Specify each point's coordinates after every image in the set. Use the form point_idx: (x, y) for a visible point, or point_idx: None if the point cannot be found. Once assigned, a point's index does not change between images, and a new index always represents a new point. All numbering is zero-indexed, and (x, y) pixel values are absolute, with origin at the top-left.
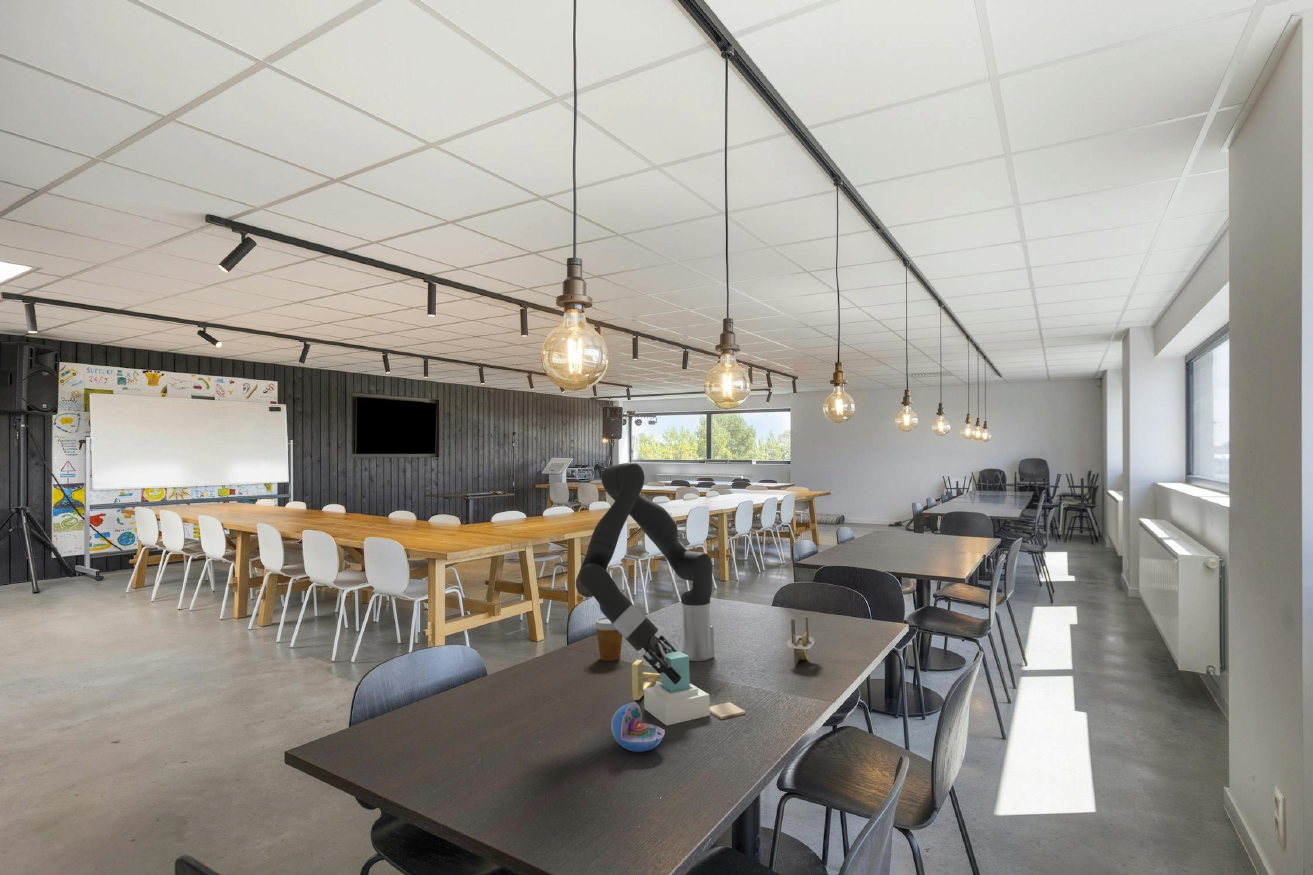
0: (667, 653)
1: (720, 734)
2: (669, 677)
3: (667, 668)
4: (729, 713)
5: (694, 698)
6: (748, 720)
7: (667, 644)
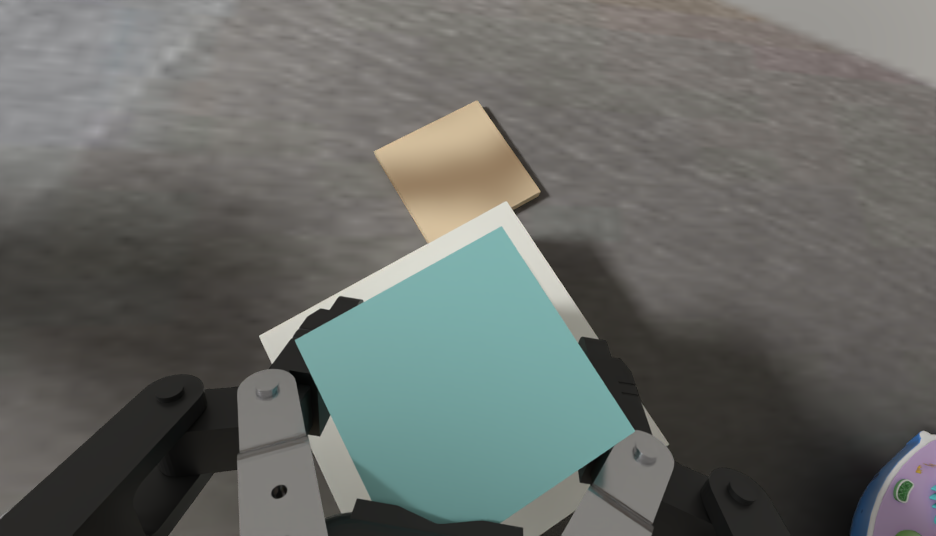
0: (388, 495)
1: (683, 204)
2: None
3: (675, 463)
4: (503, 158)
5: (557, 279)
6: (542, 101)
7: (92, 525)
